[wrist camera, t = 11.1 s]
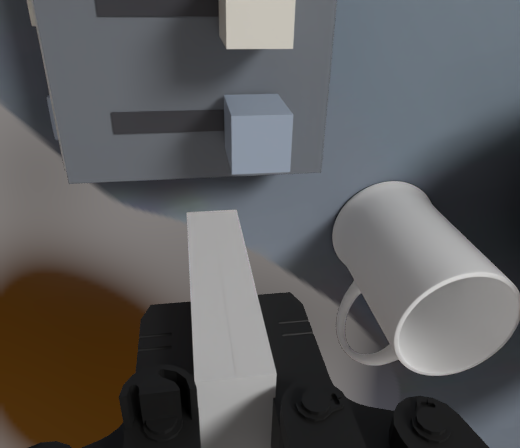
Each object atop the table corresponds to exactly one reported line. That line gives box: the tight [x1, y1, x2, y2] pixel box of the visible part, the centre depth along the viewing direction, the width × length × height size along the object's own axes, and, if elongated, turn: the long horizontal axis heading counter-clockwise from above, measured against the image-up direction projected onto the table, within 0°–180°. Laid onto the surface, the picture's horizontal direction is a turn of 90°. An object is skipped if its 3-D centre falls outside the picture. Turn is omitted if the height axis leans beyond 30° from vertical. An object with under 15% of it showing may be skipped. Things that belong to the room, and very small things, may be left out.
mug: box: [332, 181, 520, 376], centre depth 33 cm, size 12×8×12 cm
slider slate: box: [224, 94, 293, 175], centre depth 25 cm, size 3×3×4 cm
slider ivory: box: [218, 0, 296, 49], centre depth 22 cm, size 3×3×4 cm
